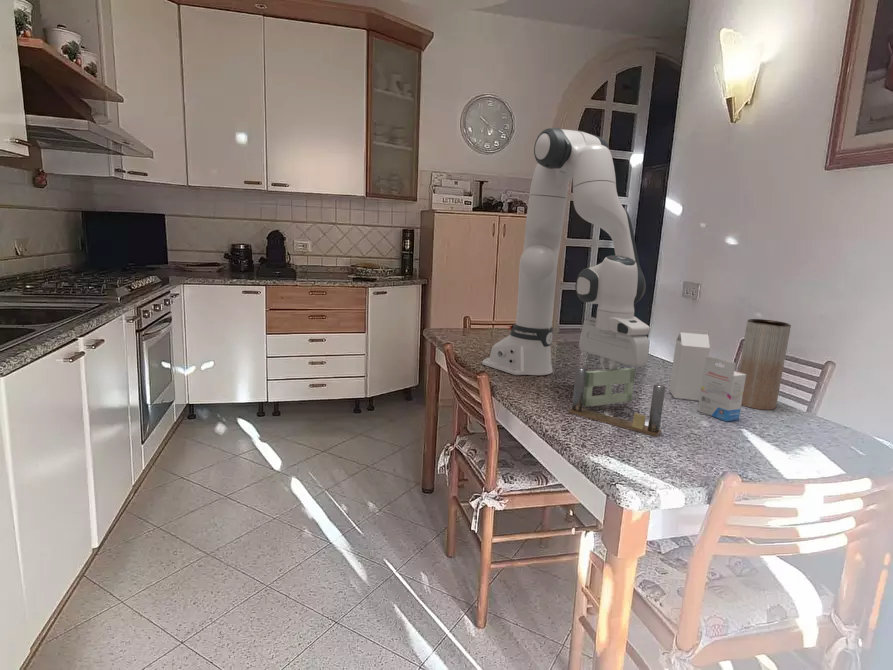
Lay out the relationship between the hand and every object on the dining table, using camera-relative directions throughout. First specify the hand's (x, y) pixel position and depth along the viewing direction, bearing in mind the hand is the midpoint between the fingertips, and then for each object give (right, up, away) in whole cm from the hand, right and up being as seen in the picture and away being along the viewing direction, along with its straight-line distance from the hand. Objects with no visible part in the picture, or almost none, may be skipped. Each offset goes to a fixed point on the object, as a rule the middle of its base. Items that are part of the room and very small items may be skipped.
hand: (608, 375), depth 137 cm
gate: (-1, -7, -1) cm, 7 cm away
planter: (+43, -9, +10) cm, 45 cm away
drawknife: (-2, -10, -11) cm, 15 cm away
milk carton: (+25, -7, +14) cm, 30 cm away
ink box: (+27, -10, -1) cm, 29 cm away
